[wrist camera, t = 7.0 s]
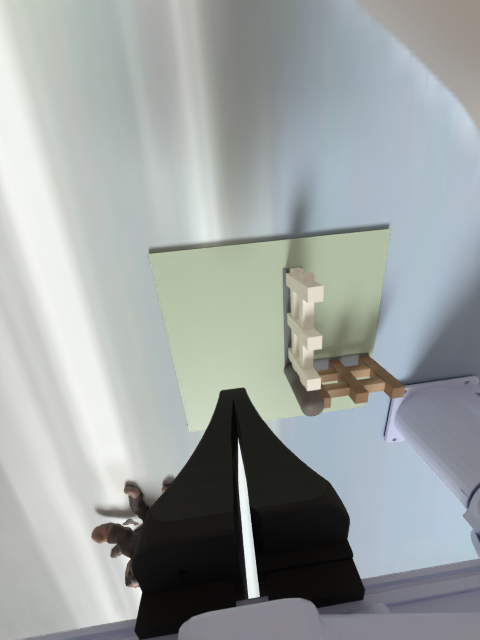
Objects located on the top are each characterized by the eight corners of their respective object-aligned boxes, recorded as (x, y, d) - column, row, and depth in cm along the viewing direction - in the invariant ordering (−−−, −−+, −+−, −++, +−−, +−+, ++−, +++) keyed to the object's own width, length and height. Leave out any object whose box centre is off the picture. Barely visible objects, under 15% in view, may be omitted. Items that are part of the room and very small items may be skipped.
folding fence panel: (299, 360, 22) (320, 394, 17) (288, 361, 22) (307, 396, 17) (298, 265, 18) (324, 277, 14) (285, 267, 18) (307, 279, 14)
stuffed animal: (203, 489, 27) (186, 621, 24) (200, 459, 36) (187, 551, 33) (93, 486, 25) (60, 630, 22) (120, 454, 34) (99, 553, 31)
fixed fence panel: (367, 349, 23) (409, 384, 18) (365, 365, 24) (405, 402, 19) (282, 361, 22) (301, 399, 17) (283, 376, 23) (301, 417, 18)
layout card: (388, 228, 19) (391, 228, 18) (363, 404, 25) (365, 406, 25) (149, 253, 18) (147, 254, 17) (190, 429, 24) (189, 432, 24)
